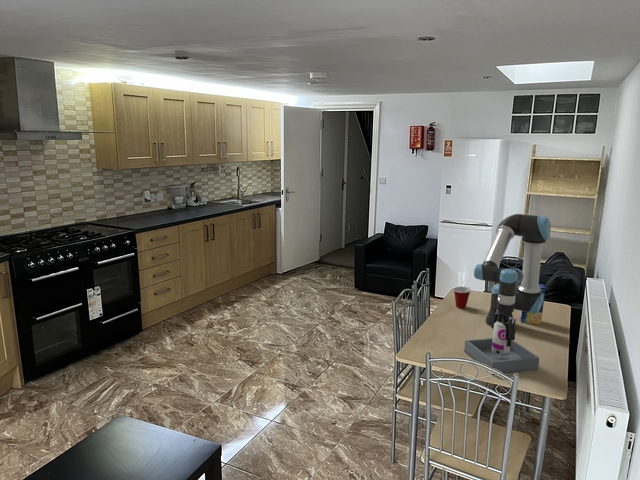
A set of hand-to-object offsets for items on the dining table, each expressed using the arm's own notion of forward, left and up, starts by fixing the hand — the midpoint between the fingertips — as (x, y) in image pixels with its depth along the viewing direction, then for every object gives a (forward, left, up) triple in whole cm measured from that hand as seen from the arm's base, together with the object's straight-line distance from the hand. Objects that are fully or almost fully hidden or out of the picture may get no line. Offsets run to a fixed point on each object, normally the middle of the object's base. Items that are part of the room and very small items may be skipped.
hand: (500, 348), depth 229 cm
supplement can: (0, 0, -2) cm, 2 cm away
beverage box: (-47, -42, -7) cm, 63 cm away
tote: (0, 0, -6) cm, 6 cm away
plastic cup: (-18, -71, -7) cm, 74 cm away
